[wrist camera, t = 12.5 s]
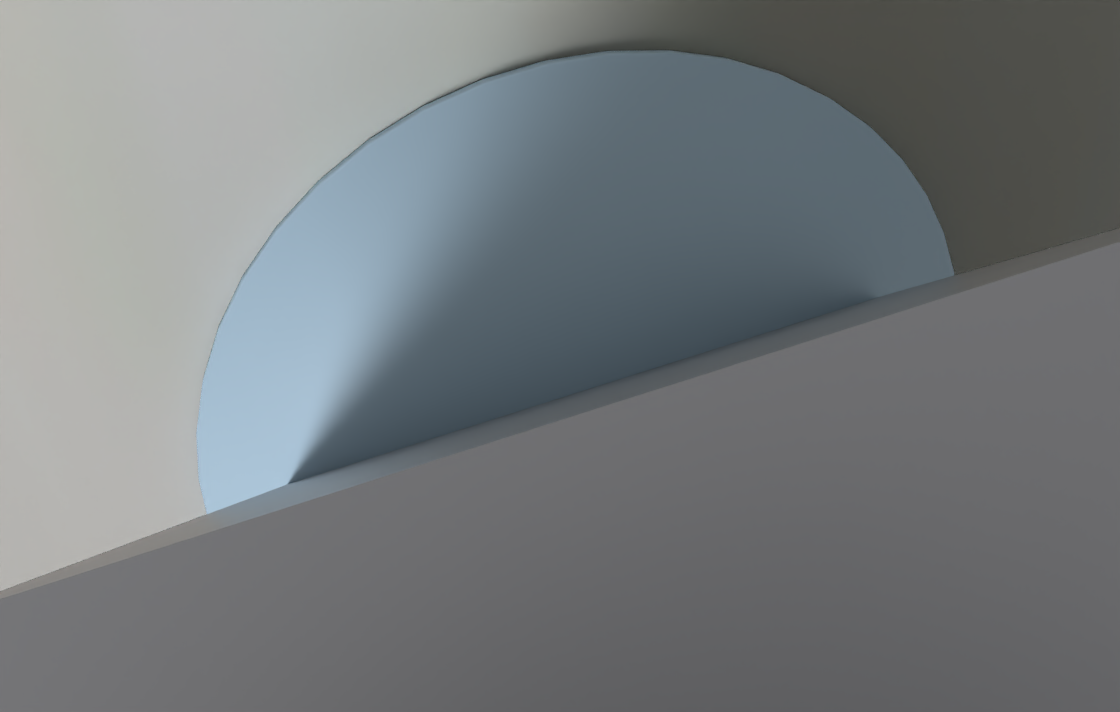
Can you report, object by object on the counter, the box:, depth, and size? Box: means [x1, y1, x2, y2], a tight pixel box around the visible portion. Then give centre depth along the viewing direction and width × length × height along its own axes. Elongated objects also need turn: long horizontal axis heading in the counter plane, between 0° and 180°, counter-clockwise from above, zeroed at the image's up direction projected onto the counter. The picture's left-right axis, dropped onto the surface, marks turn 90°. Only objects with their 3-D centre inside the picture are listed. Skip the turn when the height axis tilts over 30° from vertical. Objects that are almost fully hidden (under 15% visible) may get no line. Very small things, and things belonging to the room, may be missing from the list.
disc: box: [196, 50, 954, 514], centre depth 11 cm, size 10×10×1 cm
